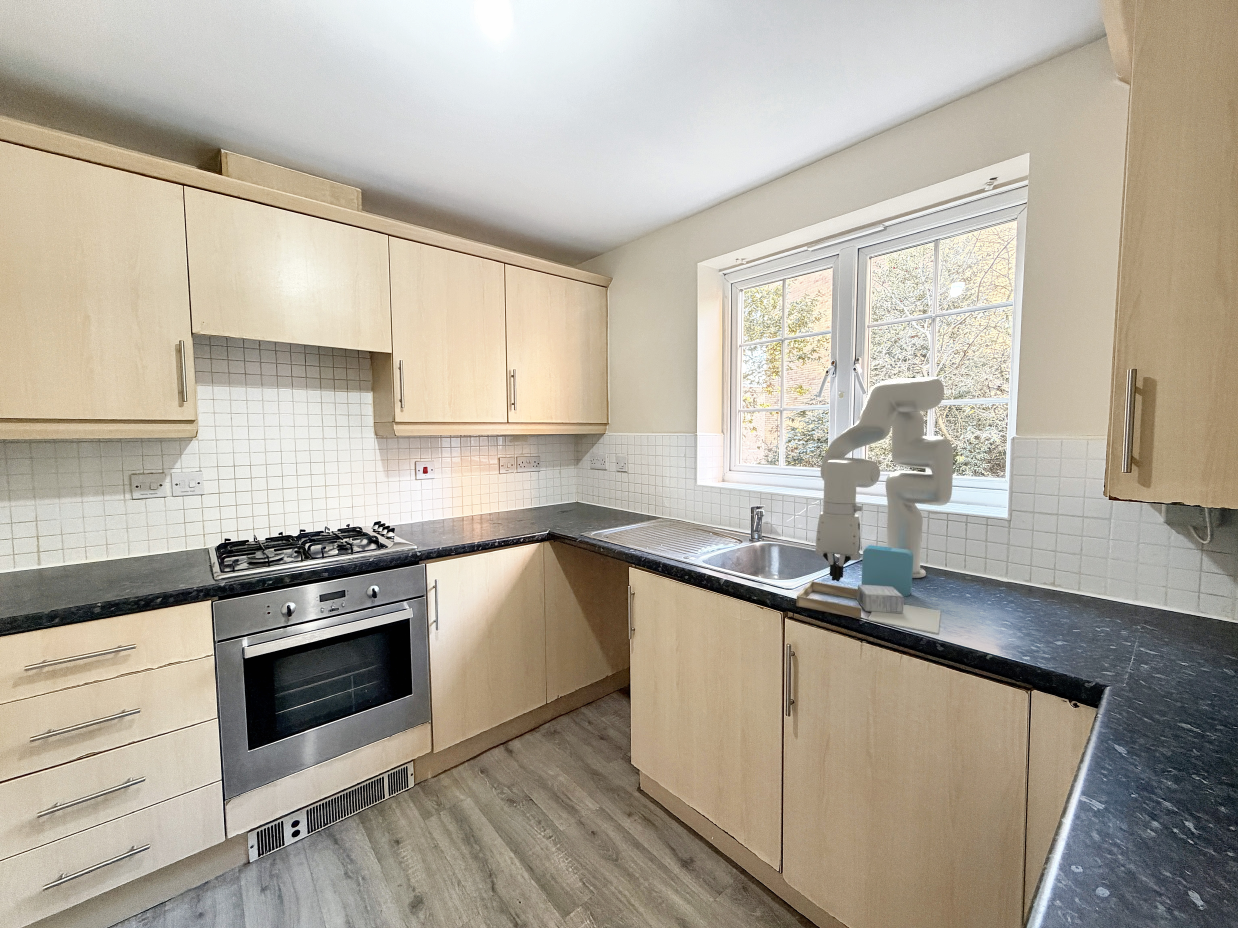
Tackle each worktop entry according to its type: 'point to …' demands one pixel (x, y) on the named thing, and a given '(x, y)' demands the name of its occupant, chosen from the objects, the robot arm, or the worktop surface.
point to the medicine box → (880, 599)
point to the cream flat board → (910, 618)
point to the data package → (888, 568)
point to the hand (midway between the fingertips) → (836, 579)
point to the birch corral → (827, 605)
